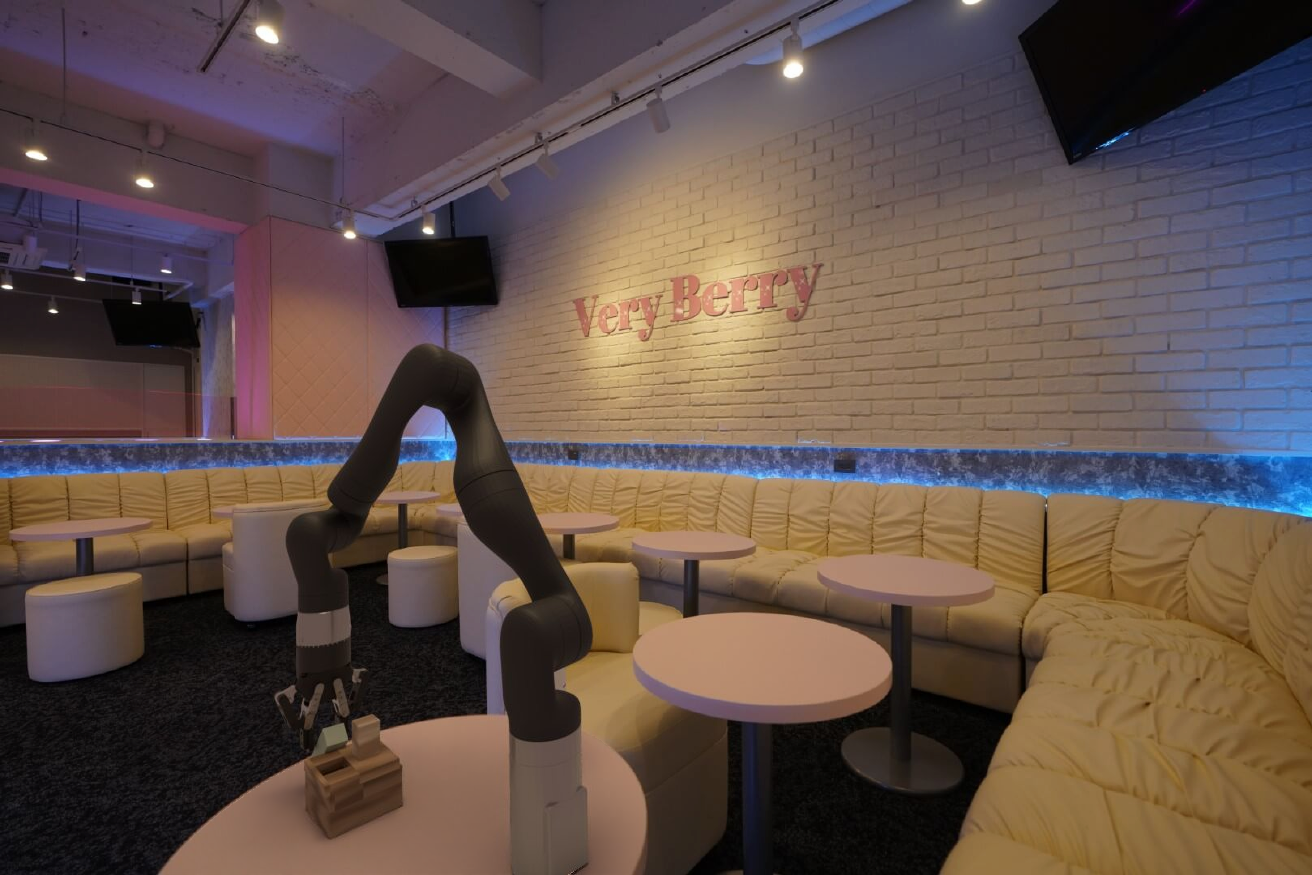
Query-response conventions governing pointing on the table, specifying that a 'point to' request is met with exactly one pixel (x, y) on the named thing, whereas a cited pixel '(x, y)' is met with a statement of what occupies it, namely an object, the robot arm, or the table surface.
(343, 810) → the box
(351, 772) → the lid
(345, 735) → the green square block
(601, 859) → the table surface
